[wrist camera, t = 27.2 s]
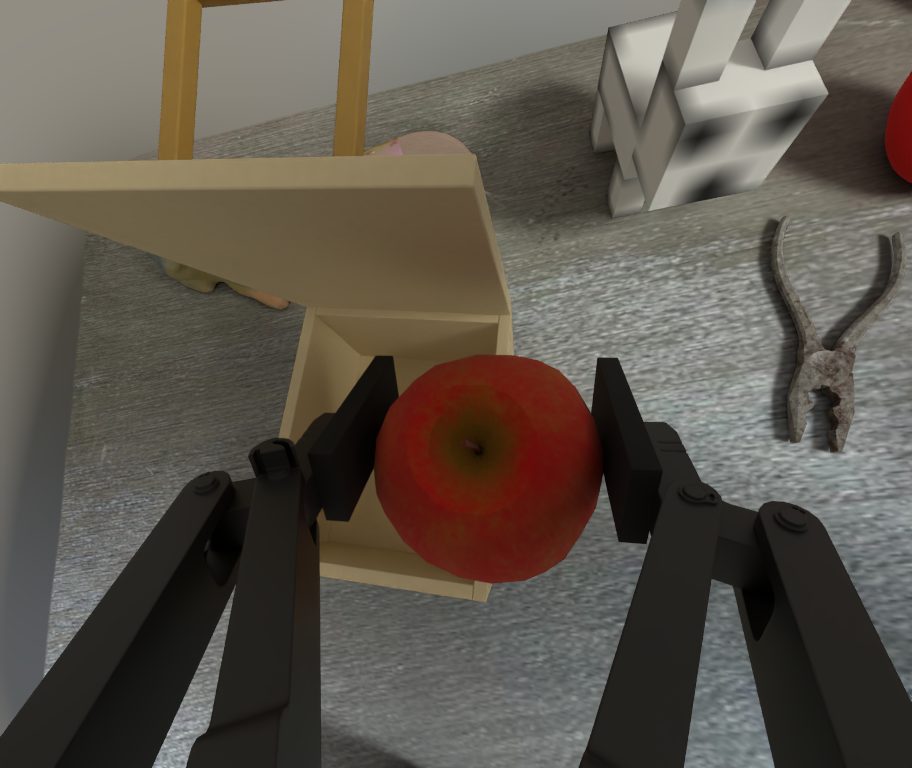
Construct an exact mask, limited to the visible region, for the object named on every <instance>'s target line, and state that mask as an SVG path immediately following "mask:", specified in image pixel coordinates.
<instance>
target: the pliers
mask: <svg viewBox="0 0 912 768" xmlns="http://www.w3.org/2000/svg"><path fill="white" fill-rule="evenodd" d="M789 220H790V218H789V216H785V217H783V218H782V219H781V221H780V223H779V224H778V227H777V229H776V232H775V235H774V239H773V243H772V254H771V257H772V269H773V275H774V278H775V281H776V284H777V286H778V289H779V291H780V293H781V295H782V297H783V299H784V302H785V304H786V306H787V308H788V310H789V312H790V314H791V316H792V319H793V321H794V323H795V326H796V329H797V332H798V335H799V347H798V349H797V366H796V369H795V372H794V375H793V378H792V382H791V385H790V389H789V393H788V396H787V411H788V425H789V438H790V442H791V443H796V442H800V440H801V438H802V435H803V432H804V430H805V427H806V424H807V423H806V418H805V417H806V413H807V412H808V411H809V410H811V409H812V408H813V406H814V403H813V402H812V401H811V400H810V399H809V395H808V392H809V391H815V390H817V389H823V394H825V395H827V396H829V397H830V398H831V399H832V401H833V405H832V407H831V408H830V409H827V410H825V414H826V416H827V417H828V419H829V420H830V422H831V423H830V424H831V426H830V427H831V428H830V429H829V432H828V438H829V446H830V453H835V452H841V451H842V450H843V447H844V444H845V441H846V437H847V434H848V431H849V428H850V425H851V422H852V419H853V416H854V380H853V373H850V372H852V370H853V365H854V361H855V356H856V355H855V354H854V353H855V349H856V346H857V344H858V342H859V341H860V339H861V338H862V336H863V335H864V334H865V333H866V331H867V330H868V329H869V328H870V327H871V325H872V324H873V323H874V322H875V321H876V320H877V319H878V318H879V316H880V315H881V314H882V313H883V312H884V311H885V310H886V309H887V307H888V306H889V305H890V304H891V302H892V301H893V300H894V298H895V297H896V296H897V294H898V291H899V289H900V287H901V285H902V282H903V278H904V274H905V267H906V247H905V241H904V238H903V235H902V233H901V232H897V233H896V234H894V235H893V236H892V244H893V251H894V263H893V268H892V273H891V276H890V279H889V282H888V284H887V286H886V288H885V290H884V291H883V293H882V294H881V295H880V296H879V298H878V299H877V300H876V301H875V302H874V303H873V304H872V305H871V306H870V307H869V308H868V309H867V310H866V311H865V312H864V313H863V314H862V315H861V316H859V317H858V318H857V319H856V320H855V321H854V322H853V323H852V324H851V325H850V326H849V327H848V328H847V329H846V330H845V331H844V332H843V334H842V335H841V336H840V338H839V339H838V340H837V342H836V343H835V345H834V346H833V348H832V349H831V351H828V350H825V348H824V347H823V346H822V344H821V342H820V339H819V337H818V334H817V332H816V329H815V326H814V324H813V321H812V320H811V318H810V316H809V314H808V312H807V310H806V309H805V307H804V306H803V304H802V302H801V301H800V299H799V297H798V295H797V294H796V292H795V290H794V288H793V286H792V284H791V283H790V280H789V278H788V276H787V274H786V271H785V267H784V263H783V240H784V235H785V232H786V229H787V226H788V223H789Z"/></svg>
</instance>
